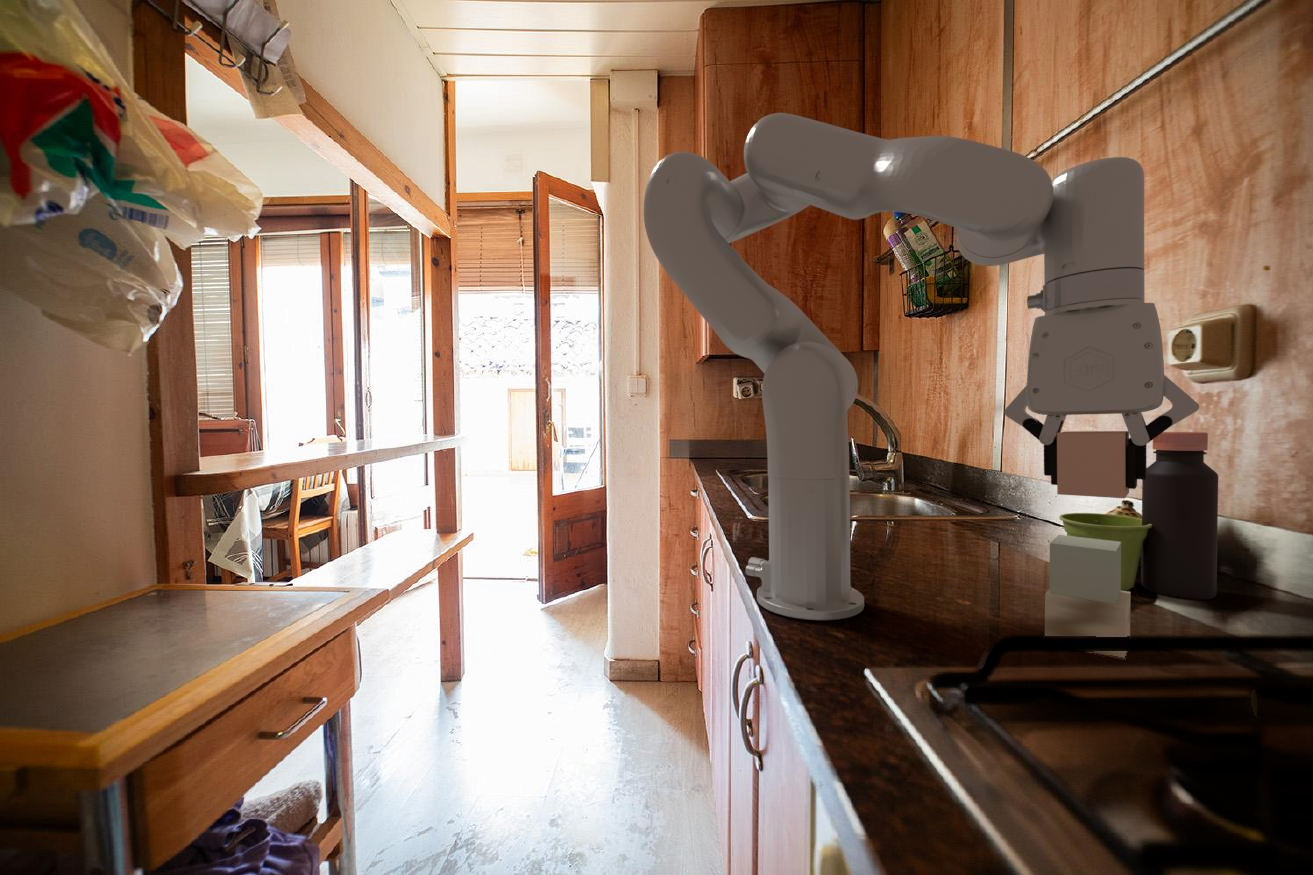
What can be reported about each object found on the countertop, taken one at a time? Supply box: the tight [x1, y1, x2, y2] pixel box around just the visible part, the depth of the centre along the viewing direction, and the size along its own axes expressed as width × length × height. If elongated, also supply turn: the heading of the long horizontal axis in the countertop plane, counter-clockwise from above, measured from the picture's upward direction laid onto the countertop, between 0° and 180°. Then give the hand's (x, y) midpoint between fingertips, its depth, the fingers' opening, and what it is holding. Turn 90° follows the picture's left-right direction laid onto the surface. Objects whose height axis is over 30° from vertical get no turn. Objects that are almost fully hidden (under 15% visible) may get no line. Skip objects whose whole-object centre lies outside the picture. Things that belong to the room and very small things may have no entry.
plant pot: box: [1058, 512, 1152, 591], centre depth 71 cm, size 9×9×9 cm
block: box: [1056, 430, 1130, 499], centre depth 53 cm, size 5×5×6 cm
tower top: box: [1048, 534, 1121, 605], centre depth 53 cm, size 5×5×5 cm
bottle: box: [1140, 431, 1219, 601], centre depth 67 cm, size 7×7×20 cm
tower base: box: [1044, 588, 1132, 659], centre depth 53 cm, size 6×6×5 cm
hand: (1093, 483), depth 53 cm, fingers closed on block, 5 cm apart
